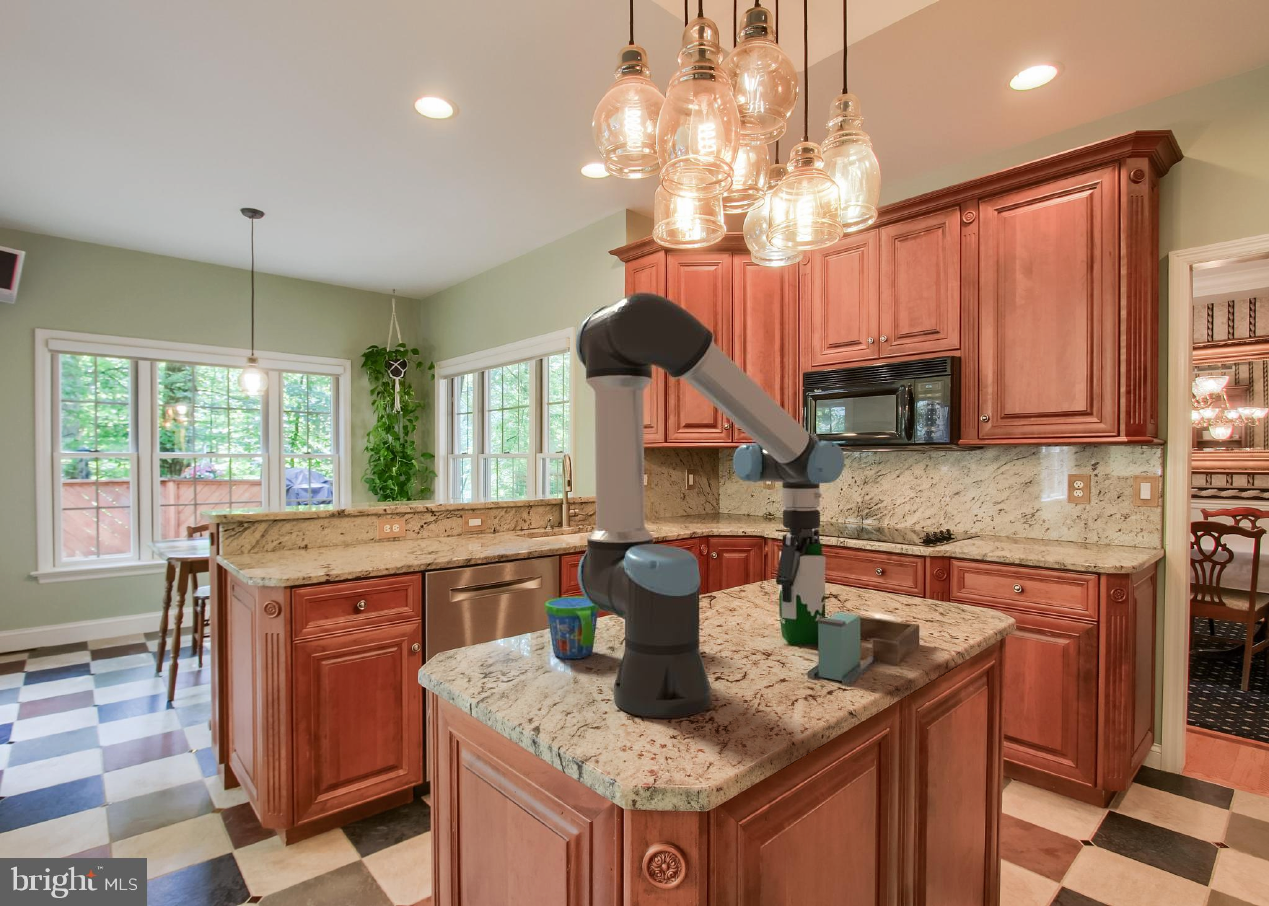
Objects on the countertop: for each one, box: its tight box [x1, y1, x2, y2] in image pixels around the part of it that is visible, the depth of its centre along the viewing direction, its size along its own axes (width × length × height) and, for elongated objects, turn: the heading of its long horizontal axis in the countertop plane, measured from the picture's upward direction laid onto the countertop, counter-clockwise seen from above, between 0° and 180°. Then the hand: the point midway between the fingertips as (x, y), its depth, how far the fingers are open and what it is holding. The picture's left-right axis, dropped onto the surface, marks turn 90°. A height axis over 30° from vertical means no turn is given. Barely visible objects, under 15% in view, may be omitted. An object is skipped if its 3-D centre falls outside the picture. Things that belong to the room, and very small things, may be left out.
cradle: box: [860, 615, 920, 666], centre depth 126 cm, size 14×16×4 cm
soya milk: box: [778, 542, 827, 646], centre depth 131 cm, size 9×9×20 cm
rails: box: [806, 655, 877, 687], centre depth 112 cm, size 7×15×1 cm, turn 143°
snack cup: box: [544, 596, 600, 660], centre depth 122 cm, size 16×10×10 cm
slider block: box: [817, 611, 862, 682], centre depth 111 cm, size 4×10×10 cm, turn 143°
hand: (802, 611), depth 131 cm, fingers open, 13 cm apart
